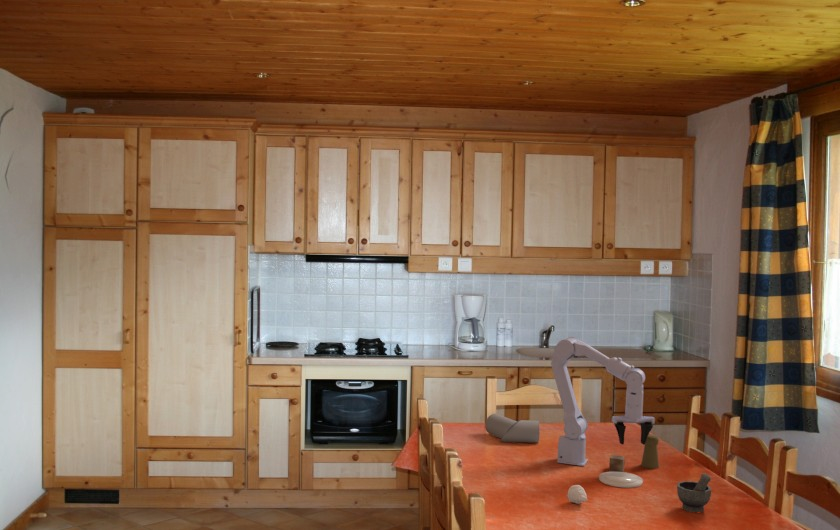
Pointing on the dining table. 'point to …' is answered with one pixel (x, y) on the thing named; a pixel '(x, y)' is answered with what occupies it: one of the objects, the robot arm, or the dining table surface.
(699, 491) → the mortar and pestle
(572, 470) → the dining table surface
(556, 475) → the dining table surface
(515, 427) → the bent grey cylinder
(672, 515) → the dining table surface
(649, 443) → the pepper mill
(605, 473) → the plate
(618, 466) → the walnut cube
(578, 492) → the garlic bulb
